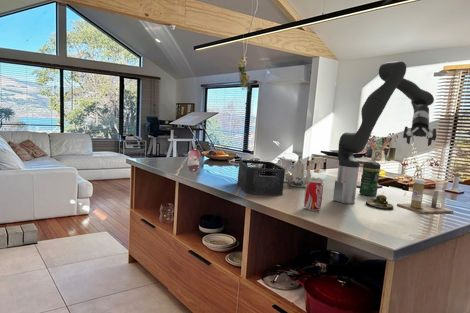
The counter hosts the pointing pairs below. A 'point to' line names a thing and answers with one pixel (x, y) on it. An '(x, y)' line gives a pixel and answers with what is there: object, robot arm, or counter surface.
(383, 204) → the olive green hat
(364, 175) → the coffee jar
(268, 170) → the storage bin
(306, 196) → the soda can
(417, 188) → the sprinkles bottle
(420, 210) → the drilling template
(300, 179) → the chinaware
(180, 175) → the counter surface
